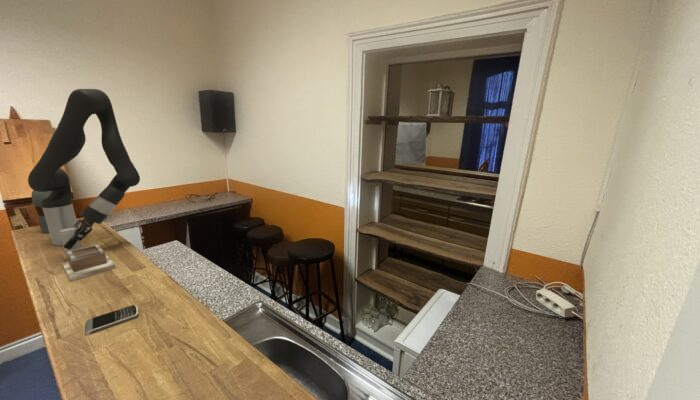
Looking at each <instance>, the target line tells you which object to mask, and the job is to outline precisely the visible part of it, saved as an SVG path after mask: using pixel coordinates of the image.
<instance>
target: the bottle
mask: <svg viewBox="0 0 700 400" xmlns="http://www.w3.org/2000/svg"><path fill="white" fill-rule="evenodd" d="M50 194H51V191H46V192H38V191H34V190H33V189H32V192H31V195H30V196H31V202H32V203H33V205H34V208H35V211H36V213H37V217H38V226H39V228H40V230H41V232H42V233H43V234H50V233H49V229H48V226H47V222H46V219H45V215H44V212H43V208H42V205H41V201H42V200H43V199H45V198H47V197H48V196H49V195H50Z"/></svg>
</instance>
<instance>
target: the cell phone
mask: <svg viewBox="0 0 700 400" xmlns="http://www.w3.org/2000/svg"><path fill="white" fill-rule="evenodd" d="M138 316H139V309H138V305H136V304H132V305H128V306H125V307H122V308H119V309H116V310H113V311H109V312H107V313H104V314H101V315H97V316H94V317H92V318H91V317H90V318H88V319H87V320H86V322H85V323H84V324H85V325H84V336H85V335H87V336H88V335H91V334H94V333H96V332H100V331H103V330H105V329H108V328H111V327H114V326H117V325H119V324H123V323H125V322H128V321H131V320H134V319H136V318H137V317H138Z"/></svg>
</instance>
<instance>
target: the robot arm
mask: <svg viewBox="0 0 700 400" xmlns="http://www.w3.org/2000/svg"><path fill="white" fill-rule="evenodd" d="M67 98H68V99H67V101H66V104H65V108H64V111H63V113H62V116H61V118H60V121H59V122H58V125H57V127H56V129H55V131H54V132H53V134H52V136H51V138H50V140H49V142H48V144H47V146H46V148H45V150H44V152H43V153H42V155H41V157H40V159H39V160H38V161H37V163H36V165H34V167H33V168H32V170H30V172H29V175H28V178H27V182H28V183H27V184H28V186H29V188H30V189H32V191H33V190H34V191H38V192H46V191H51V194H50V195H49V196H48V197H47V198H45V199H43V200H42V201H41V205H42V208H43V212H44V215H45V219H46V222H47V226H48V229H49V233H48V234H49V235H50V240H51V243H52V245H53V246H59V247H60V246H63V243H62V240H61V236H60V230H62V229H66V228H76V230H75V231H74V235H73V236H72V237H71V239H70V240H69V241H68V242H67V243H66V244H65V245H64V247H63V249H64V248H66V249H71V248H72V247H73V246H74V245H75V244H76V242H77V241H80V242H81V241H82V240H83V239H85V237H87V236H88V235H89V233H91V232H92V231H93V225H94V224H95V223H96V224H97V225H98V224H99V225H100V224H102V223H103V222H104V221H105V220H106V219H107V218H108V216H109V215H110V214H112V212H113V211H114V210H115V208H116V206H118V204H119V203H120V202H121V201H122V200H123V198H124V197H125V193H127V192H128V190H129V189H130V188H131V187H135V186H137V185H138V184H139V183H140V181H141V177H140V174H139V172H138V170H137V167H135V165H134V163H133V162H132V160H131V158H130V155H129V153H128V150H127V149H126V146H125V144H124V142H123V140H122V136H121V134H120V131H119V127H118V123H117V119H116V115H115V112H114V108H113V105H112V101H111V100H110V97H109V96H108V94H106V92H105V91H103V90H100V89H97V88H78V89H74V90H72V91H71V93H70V94H69V96H68V97H67ZM92 115H96V117H97V119H98V121H99V124H100V128H101V145H102V149H103V153H104V154H105V156H106V157H107V159H108V161H109V163H110V165H111V166H112V167H113V168H114V171H115V173H116V174H115V176H114V177H112V179H111V181H110V182H109V183H108V185H107V186H106V187H105V188H104V189H103V190H102V191H101V192H100V193H99V194H98V195H97V196H96V197H95V198H94V199H93V200H91V202H90V203H89V204H88V205H86V206H85V208H84V209H83V210H81V212H80V216H81V217H83V218H82V219H80V218H79V219H77V217H76V212H75V209H74V205H73V202H72V200H73V193H72V192H73V191H72V186H71V181H70V177H69V175H68V173H67V172H66V171H65V170H64V169H62V167H63V166H65V165H66V164H68V163H69V162H71V161H72V160H73V159H75V158H76V157H78V155H79V154H81V151H82V149H83V147H84V146H85V145H86V144H85V143H86V141H87V140H86V139H87V137H86V134H85V129H84V128H85V126H86V123H87V122H88V119H90V117H91V116H92ZM78 235H79V236H78Z"/></svg>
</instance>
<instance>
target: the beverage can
mask: <svg viewBox="0 0 700 400" xmlns="http://www.w3.org/2000/svg"><path fill="white" fill-rule="evenodd" d="M75 230H76V228H66V229H62V230H60V236H61V240H62V243H63V245H62V246H63V250H64V253H65V257H66V259H67V260H68V257H67V255H68V253H67V252H68V251H72V250H76V249H80V248H83V247H82V244H81V243H82V242H81V241H77V242H76V244H75V245H74V246H73V247H72V248H71V249H66V248H64V245H65V244H66V243H67V242H68V241H69V240H70V239H71V237H72V236H73V235H74V231H75ZM78 236H79V235H78Z"/></svg>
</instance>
